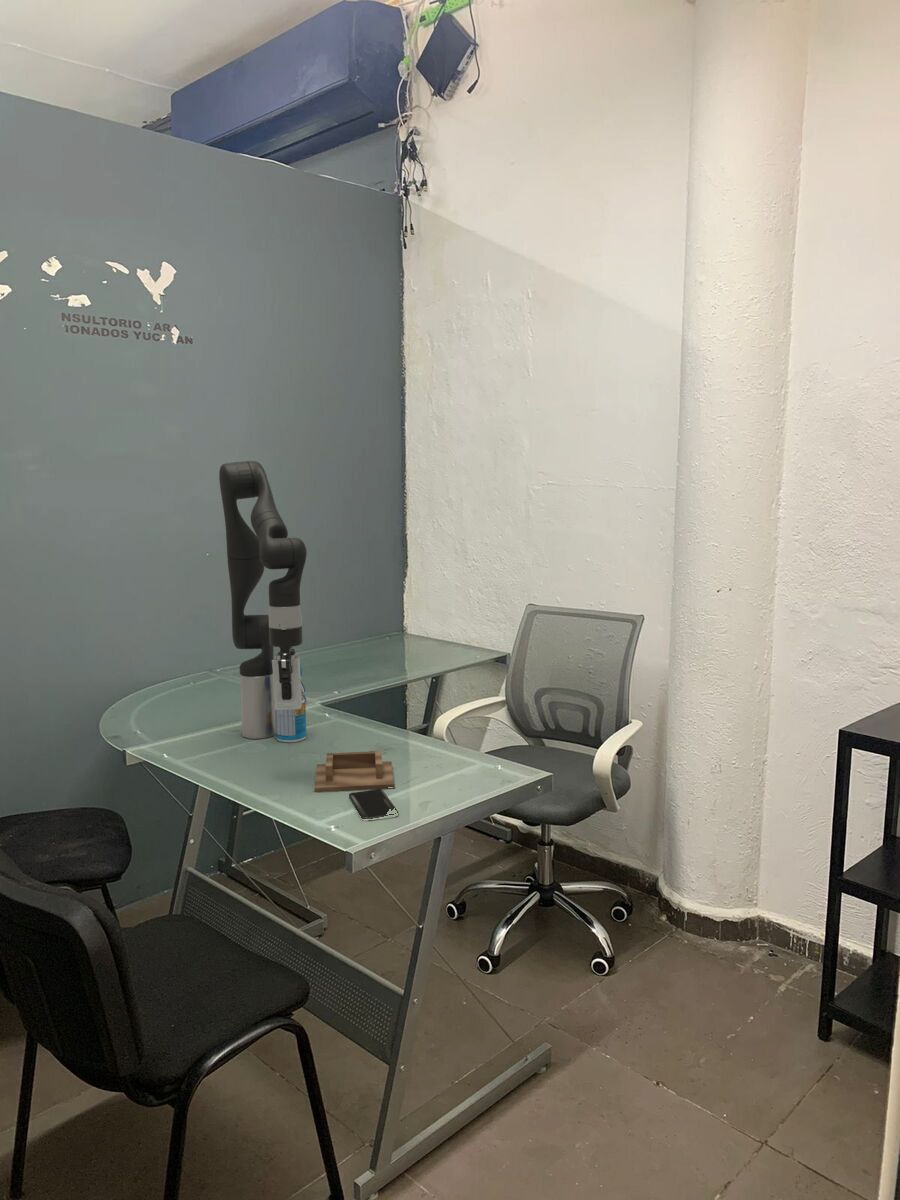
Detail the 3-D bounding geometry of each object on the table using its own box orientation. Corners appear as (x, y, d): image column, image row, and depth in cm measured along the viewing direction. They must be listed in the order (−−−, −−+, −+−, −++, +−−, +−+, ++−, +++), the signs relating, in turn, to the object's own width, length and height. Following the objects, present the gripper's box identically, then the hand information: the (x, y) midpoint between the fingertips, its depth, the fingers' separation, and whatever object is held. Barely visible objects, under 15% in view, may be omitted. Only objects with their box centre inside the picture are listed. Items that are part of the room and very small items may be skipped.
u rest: (317, 768, 210) (316, 750, 210) (391, 765, 212) (391, 747, 212) (314, 792, 195) (313, 772, 194) (394, 788, 197) (394, 769, 196)
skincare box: (302, 705, 205) (300, 655, 203) (300, 710, 200) (299, 659, 199) (276, 706, 204) (274, 655, 203) (273, 711, 200) (271, 659, 198)
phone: (363, 818, 178) (347, 793, 192) (363, 823, 178) (347, 797, 192) (400, 813, 180) (382, 788, 194) (400, 818, 180) (382, 793, 194)
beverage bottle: (276, 744, 229) (274, 670, 226) (274, 735, 237) (271, 664, 234) (308, 741, 231) (306, 668, 228) (305, 732, 239) (303, 662, 236)
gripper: (272, 619, 206) (275, 689, 209) (265, 630, 192) (268, 705, 195) (304, 619, 207) (306, 689, 209) (299, 629, 193) (301, 704, 195)
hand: (287, 696), depth 202 cm, fingers closed on skincare box, 4 cm apart
